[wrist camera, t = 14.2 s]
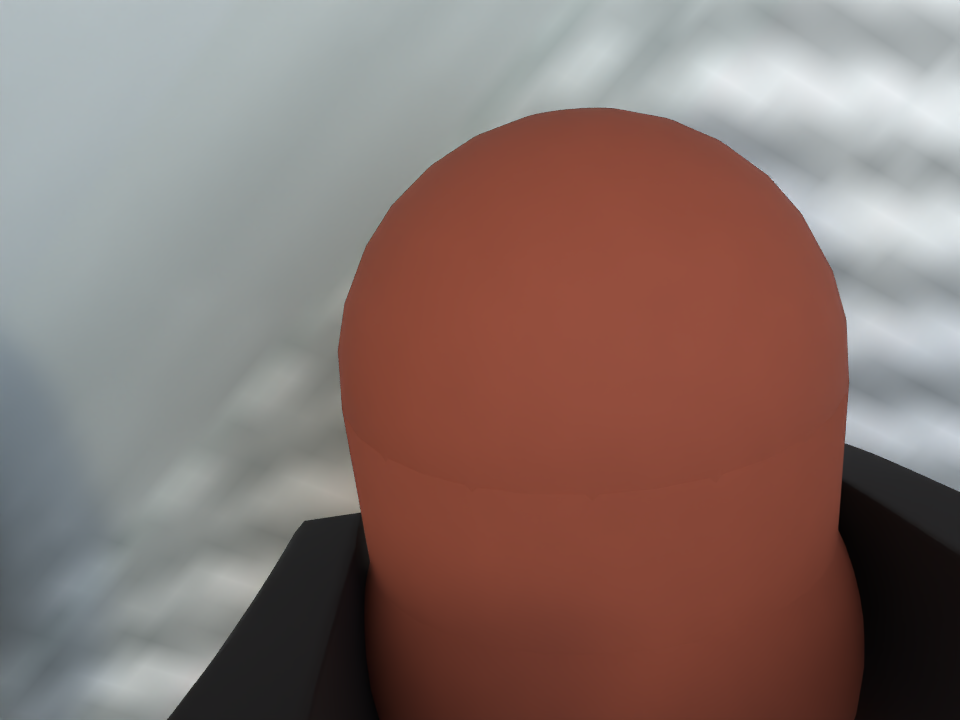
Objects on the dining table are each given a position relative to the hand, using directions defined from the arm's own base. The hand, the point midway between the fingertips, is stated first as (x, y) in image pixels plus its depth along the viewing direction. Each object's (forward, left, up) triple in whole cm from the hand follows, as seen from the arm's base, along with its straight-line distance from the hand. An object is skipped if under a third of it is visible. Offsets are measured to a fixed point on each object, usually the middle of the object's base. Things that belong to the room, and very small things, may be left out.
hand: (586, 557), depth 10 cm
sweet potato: (0, 0, -1) cm, 1 cm away
